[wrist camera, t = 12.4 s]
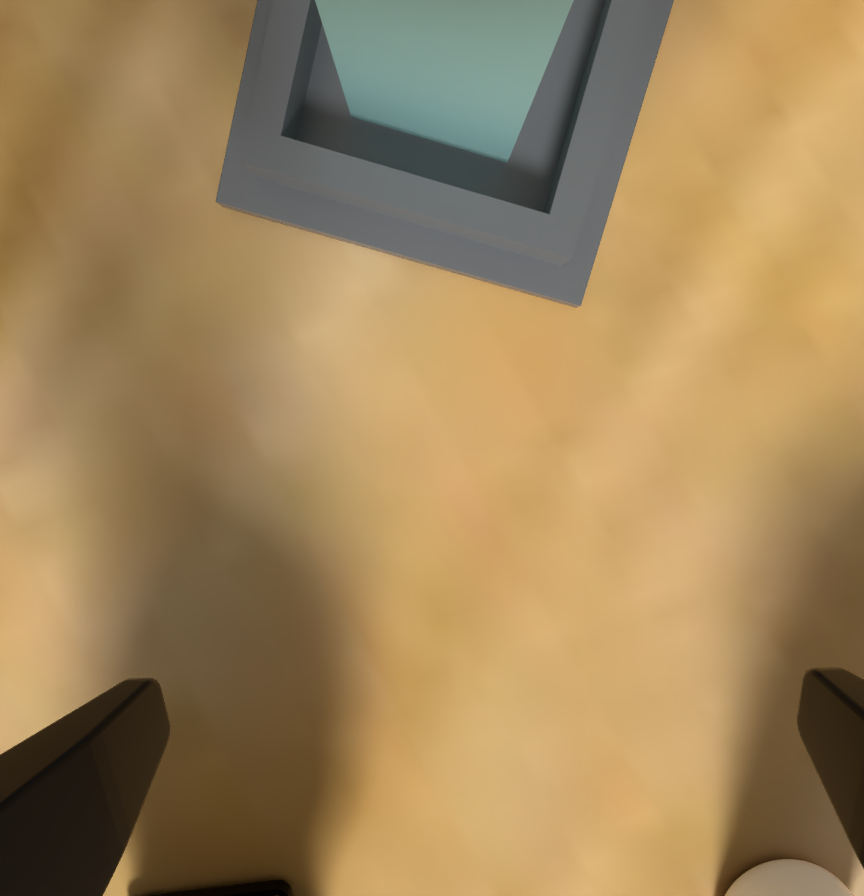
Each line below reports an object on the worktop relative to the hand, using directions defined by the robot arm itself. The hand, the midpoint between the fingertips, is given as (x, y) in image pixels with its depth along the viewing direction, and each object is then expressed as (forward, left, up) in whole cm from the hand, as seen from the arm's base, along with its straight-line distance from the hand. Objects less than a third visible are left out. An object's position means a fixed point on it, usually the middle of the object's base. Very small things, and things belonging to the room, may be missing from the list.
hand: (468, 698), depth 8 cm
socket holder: (+2, +14, -12) cm, 18 cm away
